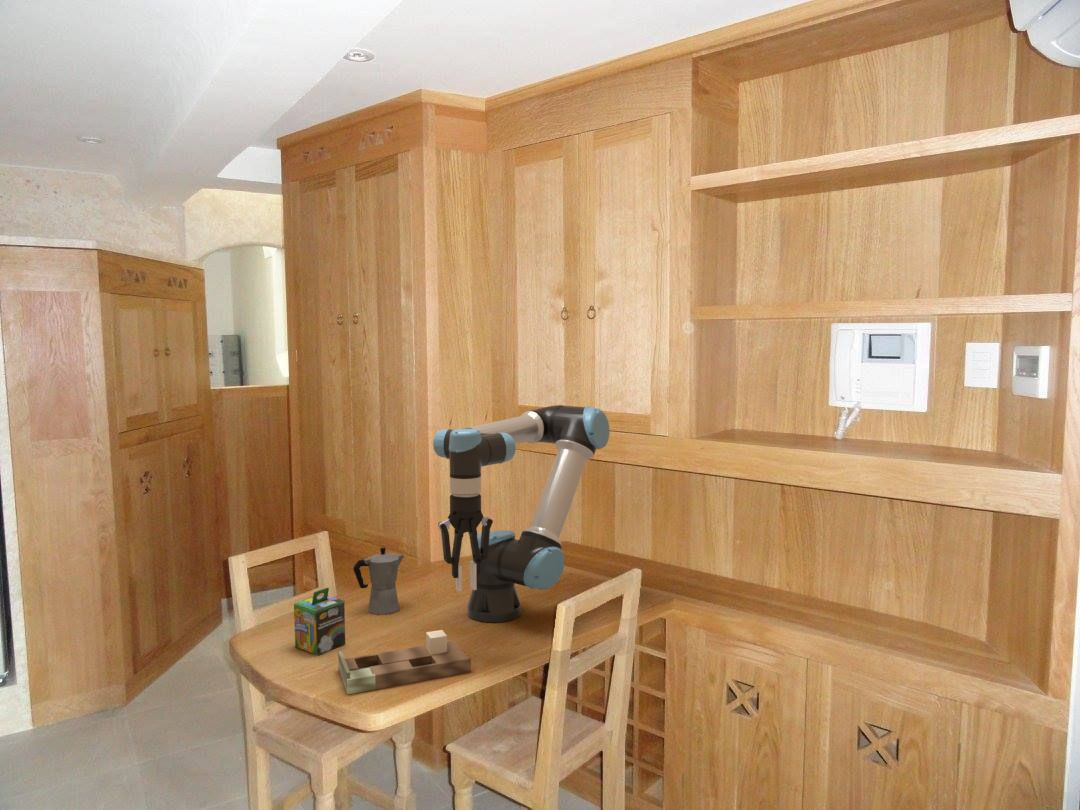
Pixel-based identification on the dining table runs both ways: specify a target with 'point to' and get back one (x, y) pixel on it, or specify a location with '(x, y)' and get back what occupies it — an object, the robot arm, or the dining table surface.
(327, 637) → the chalk box
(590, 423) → the robot arm
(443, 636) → the ivory block
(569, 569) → the dining table surface
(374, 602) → the coffeepot
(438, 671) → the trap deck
